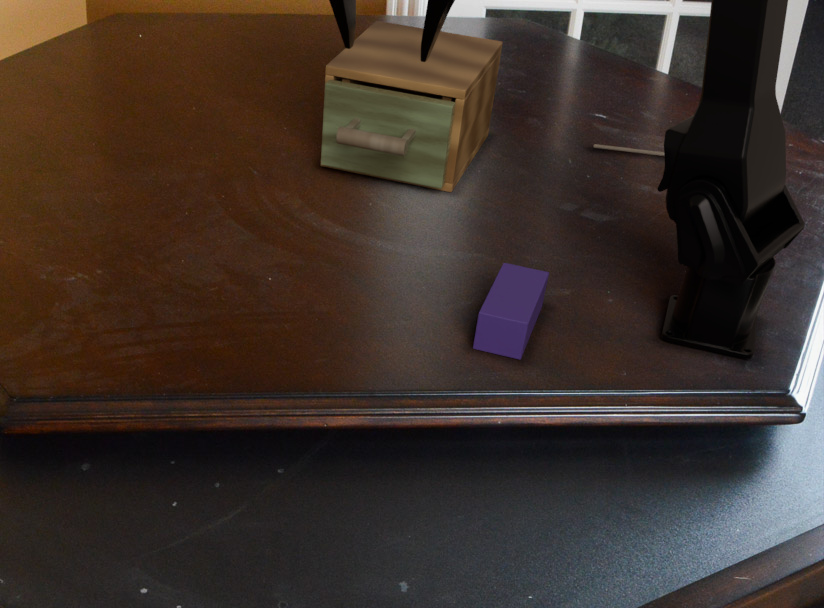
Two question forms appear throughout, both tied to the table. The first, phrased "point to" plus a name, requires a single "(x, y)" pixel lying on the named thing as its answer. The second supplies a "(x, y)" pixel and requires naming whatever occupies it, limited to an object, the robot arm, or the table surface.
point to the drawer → (387, 131)
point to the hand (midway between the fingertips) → (386, 53)
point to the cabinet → (430, 80)
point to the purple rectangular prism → (510, 311)
